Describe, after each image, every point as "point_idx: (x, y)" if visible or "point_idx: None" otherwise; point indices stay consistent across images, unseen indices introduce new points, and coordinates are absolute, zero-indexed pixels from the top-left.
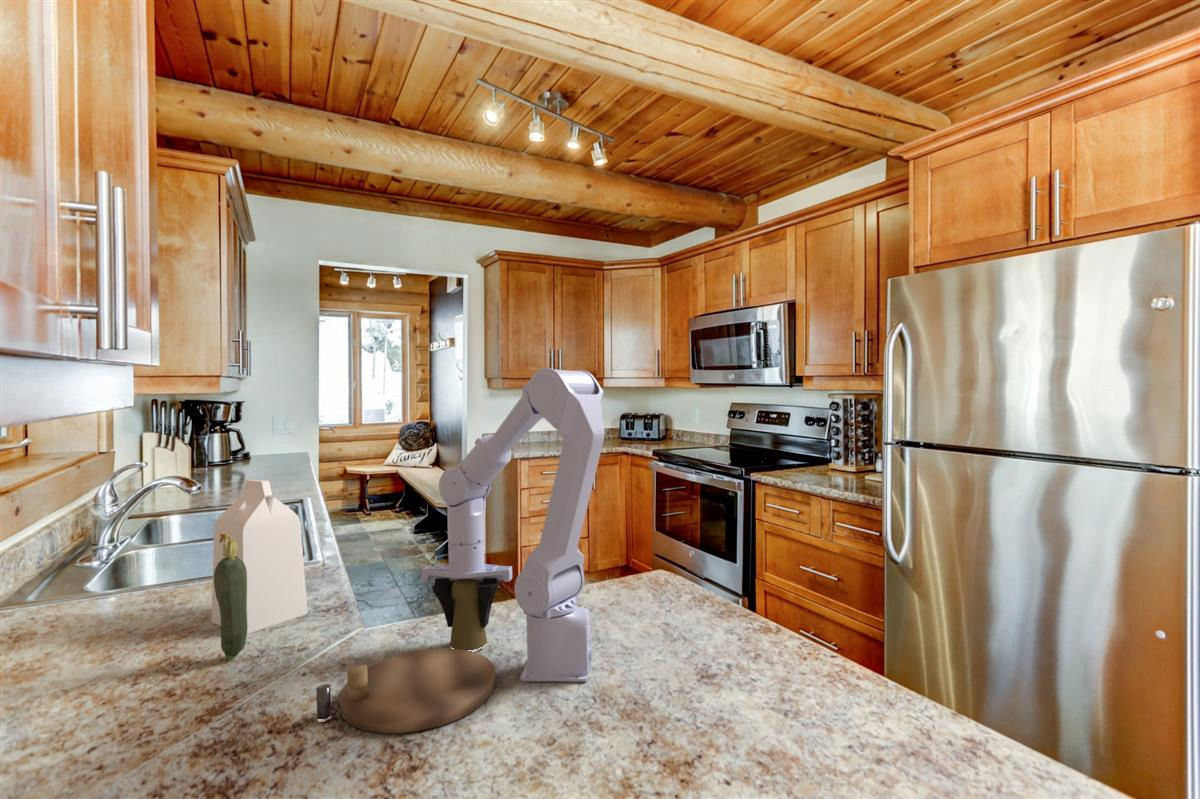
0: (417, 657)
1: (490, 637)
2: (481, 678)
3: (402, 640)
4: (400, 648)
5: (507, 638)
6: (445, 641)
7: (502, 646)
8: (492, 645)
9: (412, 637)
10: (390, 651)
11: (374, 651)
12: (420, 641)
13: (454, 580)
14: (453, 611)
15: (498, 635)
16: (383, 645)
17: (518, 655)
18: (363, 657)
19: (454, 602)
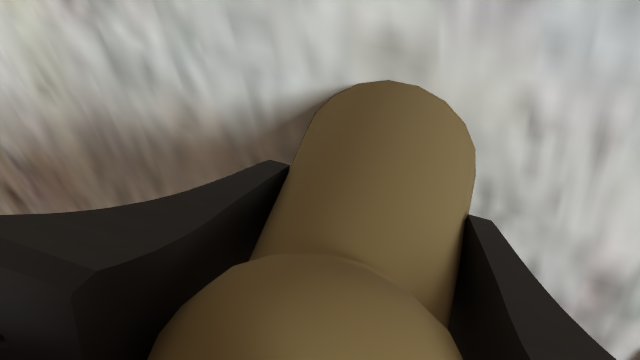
0: None
1: (498, 90)
2: None
3: (81, 35)
4: (113, 119)
5: (598, 126)
6: (269, 89)
7: (549, 213)
8: (499, 189)
9: (106, 6)
10: (92, 137)
11: (40, 123)
12: (160, 64)
13: (107, 347)
14: (255, 223)
15: (551, 71)
16: (38, 74)
17: (607, 312)
18: (35, 162)
19: (231, 218)
